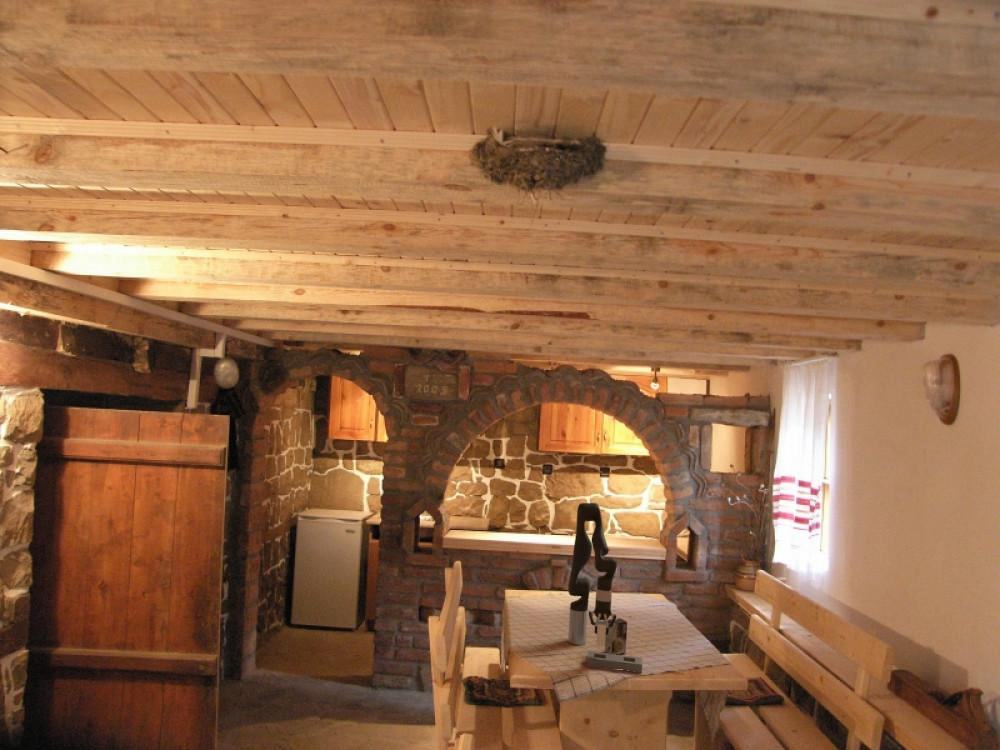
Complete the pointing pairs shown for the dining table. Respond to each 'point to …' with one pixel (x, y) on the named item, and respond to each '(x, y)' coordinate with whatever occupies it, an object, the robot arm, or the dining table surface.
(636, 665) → the jack board
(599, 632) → the plug
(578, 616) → the robot arm
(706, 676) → the dining table surface
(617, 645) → the coffee box
